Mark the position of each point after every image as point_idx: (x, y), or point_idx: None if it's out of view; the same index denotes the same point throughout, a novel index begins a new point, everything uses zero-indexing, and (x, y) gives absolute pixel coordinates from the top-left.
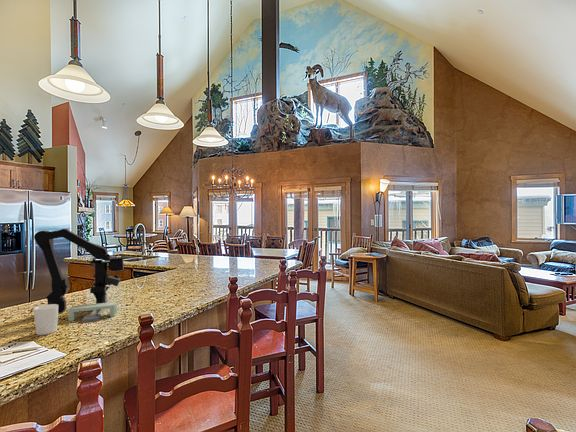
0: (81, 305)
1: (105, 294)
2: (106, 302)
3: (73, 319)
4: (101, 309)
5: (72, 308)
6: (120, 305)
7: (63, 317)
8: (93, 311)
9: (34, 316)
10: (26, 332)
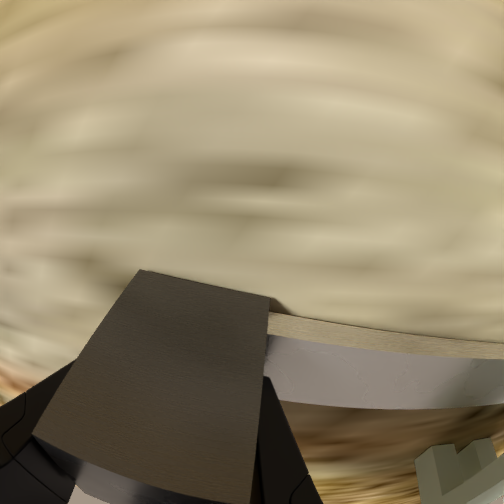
0: (477, 499)
1: (198, 497)
2: (151, 303)
3: (490, 442)
4: (456, 350)
5: (491, 500)
6: (297, 50)
7: (377, 481)
8: (481, 401)
9: None
10: None
